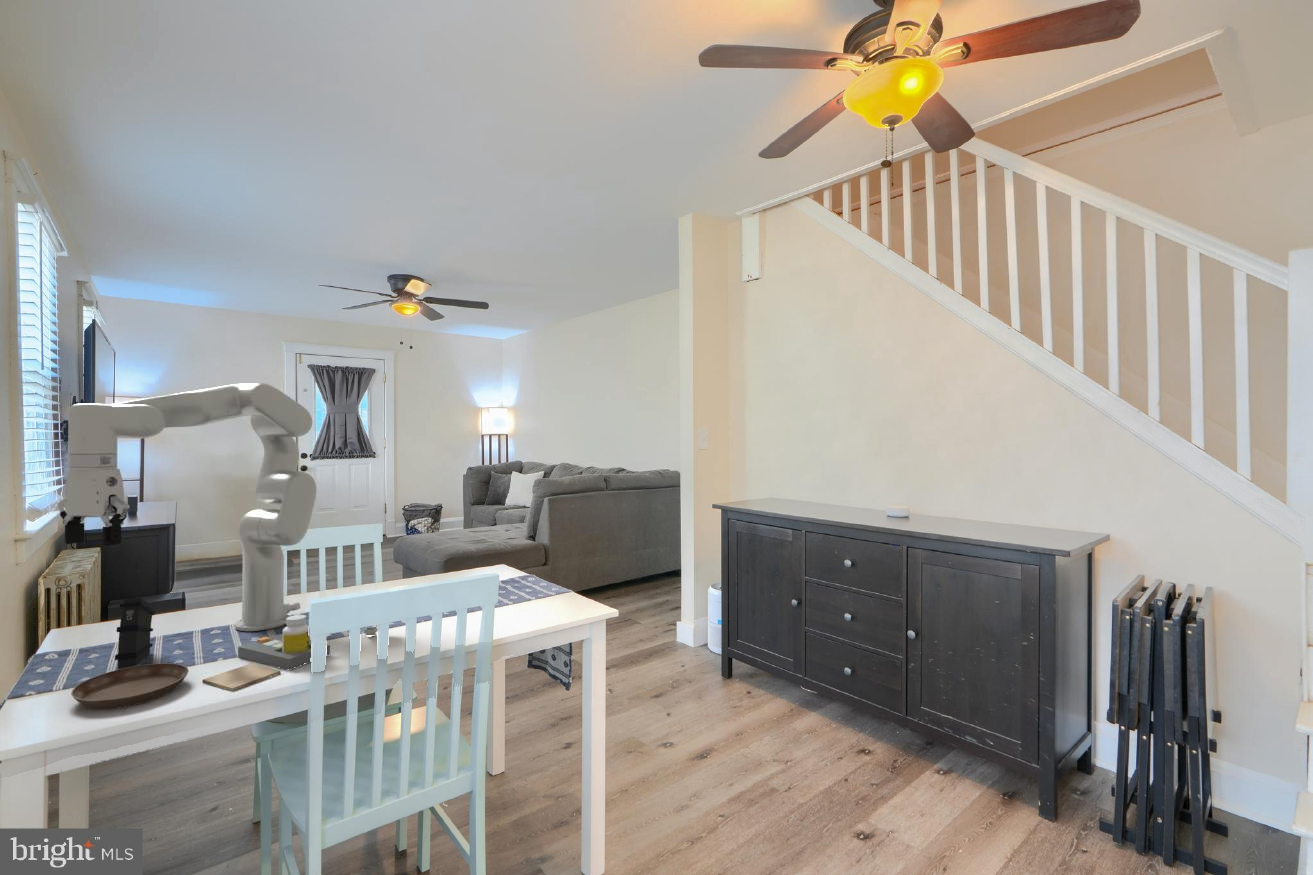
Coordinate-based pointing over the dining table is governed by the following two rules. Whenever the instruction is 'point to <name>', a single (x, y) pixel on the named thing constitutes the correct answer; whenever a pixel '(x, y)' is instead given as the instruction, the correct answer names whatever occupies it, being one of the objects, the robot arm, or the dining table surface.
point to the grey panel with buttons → (274, 653)
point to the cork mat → (241, 677)
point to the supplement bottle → (295, 635)
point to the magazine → (134, 632)
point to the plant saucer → (129, 685)
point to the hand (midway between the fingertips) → (93, 543)
